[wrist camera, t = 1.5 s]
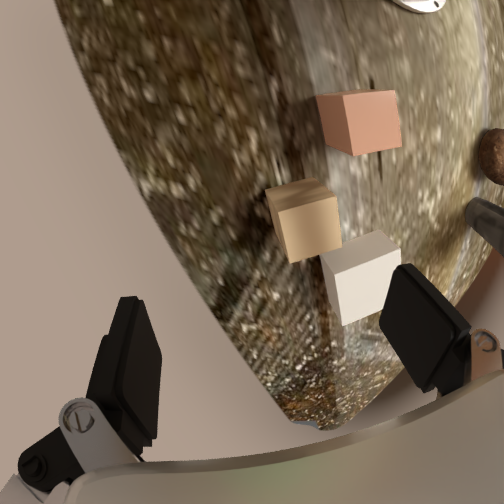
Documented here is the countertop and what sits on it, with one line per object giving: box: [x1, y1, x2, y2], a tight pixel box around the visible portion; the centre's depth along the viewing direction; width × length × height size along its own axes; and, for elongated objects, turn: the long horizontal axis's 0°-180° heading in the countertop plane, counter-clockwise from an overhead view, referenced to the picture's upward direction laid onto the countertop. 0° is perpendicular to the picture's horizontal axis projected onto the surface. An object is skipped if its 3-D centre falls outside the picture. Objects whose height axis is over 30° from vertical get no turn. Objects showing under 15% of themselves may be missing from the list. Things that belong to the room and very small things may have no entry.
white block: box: [319, 229, 401, 326], centre depth 32 cm, size 8×8×5 cm
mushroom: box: [479, 128, 504, 186], centre depth 26 cm, size 8×8×6 cm
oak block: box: [265, 177, 342, 263], centre depth 26 cm, size 5×5×6 cm
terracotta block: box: [316, 89, 402, 156], centre depth 22 cm, size 5×5×6 cm
